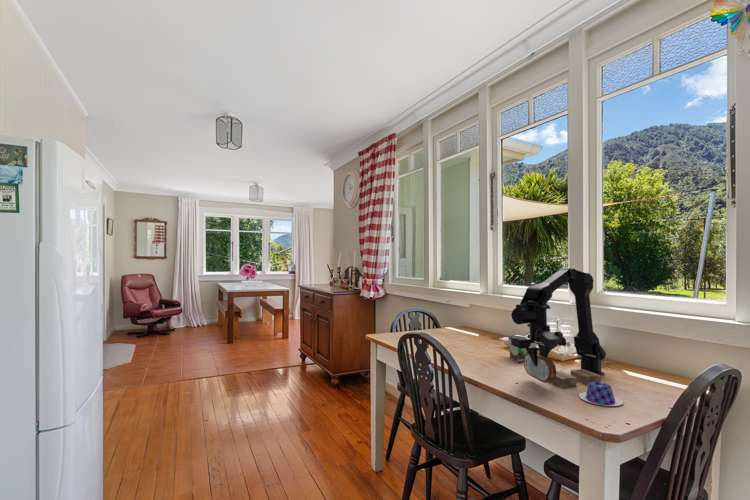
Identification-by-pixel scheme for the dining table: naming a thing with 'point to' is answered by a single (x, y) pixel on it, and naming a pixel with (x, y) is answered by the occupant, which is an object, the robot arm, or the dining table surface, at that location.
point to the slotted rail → (575, 378)
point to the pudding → (600, 395)
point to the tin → (540, 368)
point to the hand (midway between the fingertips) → (539, 365)
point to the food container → (516, 351)
